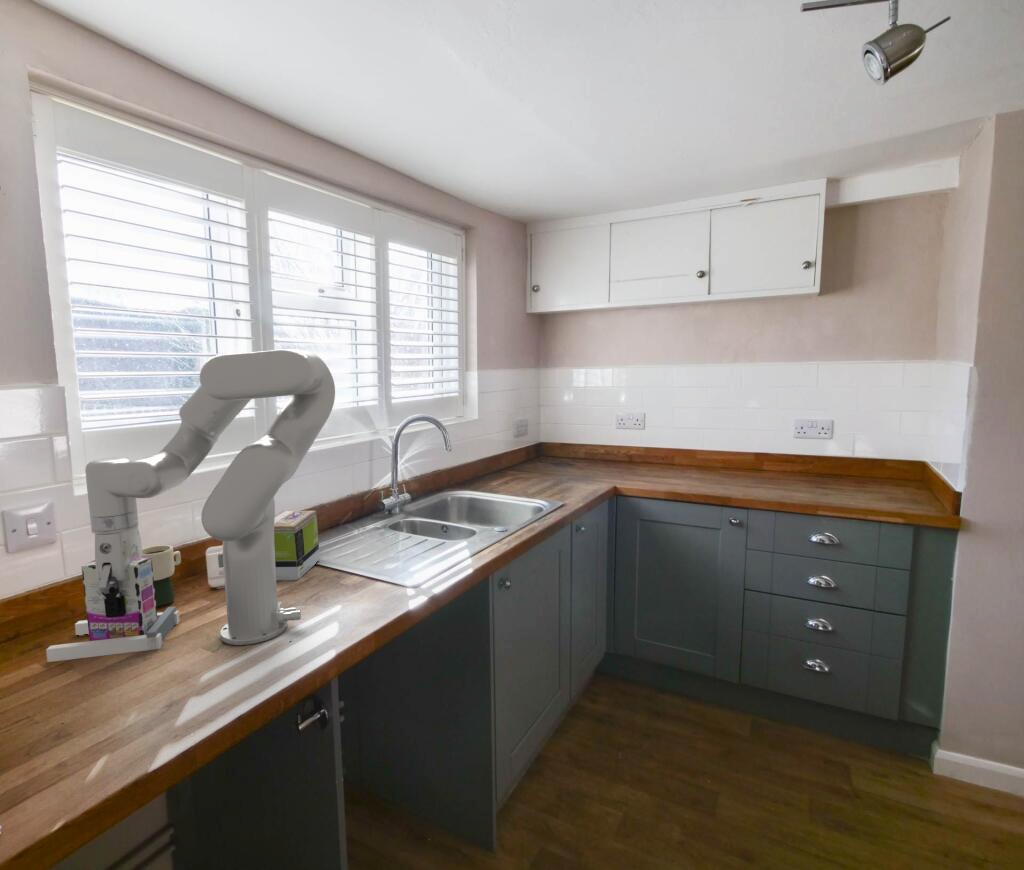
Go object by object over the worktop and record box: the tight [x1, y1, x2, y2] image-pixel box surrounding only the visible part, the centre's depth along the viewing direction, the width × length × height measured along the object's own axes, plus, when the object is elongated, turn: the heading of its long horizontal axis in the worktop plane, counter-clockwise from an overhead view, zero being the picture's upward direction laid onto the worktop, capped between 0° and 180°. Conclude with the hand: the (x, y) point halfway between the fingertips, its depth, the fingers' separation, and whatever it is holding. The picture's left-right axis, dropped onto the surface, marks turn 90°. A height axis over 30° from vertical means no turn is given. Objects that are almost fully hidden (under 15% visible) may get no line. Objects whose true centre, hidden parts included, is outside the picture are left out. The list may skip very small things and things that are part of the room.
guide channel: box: [45, 605, 180, 663], centre depth 111 cm, size 18×12×4 cm, turn 105°
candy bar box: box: [81, 558, 158, 641], centre depth 110 cm, size 11×5×16 cm, turn 88°
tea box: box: [274, 510, 321, 581], centre depth 148 cm, size 15×10×15 cm, turn 178°
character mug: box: [142, 544, 182, 607], centre depth 127 cm, size 11×7×13 cm, turn 148°
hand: (123, 608), depth 110 cm, fingers closed on candy bar box, 5 cm apart
